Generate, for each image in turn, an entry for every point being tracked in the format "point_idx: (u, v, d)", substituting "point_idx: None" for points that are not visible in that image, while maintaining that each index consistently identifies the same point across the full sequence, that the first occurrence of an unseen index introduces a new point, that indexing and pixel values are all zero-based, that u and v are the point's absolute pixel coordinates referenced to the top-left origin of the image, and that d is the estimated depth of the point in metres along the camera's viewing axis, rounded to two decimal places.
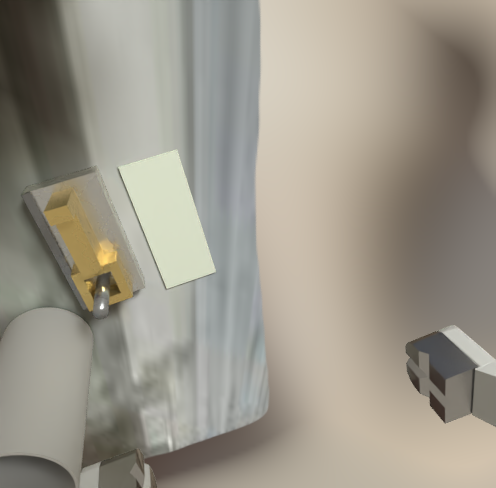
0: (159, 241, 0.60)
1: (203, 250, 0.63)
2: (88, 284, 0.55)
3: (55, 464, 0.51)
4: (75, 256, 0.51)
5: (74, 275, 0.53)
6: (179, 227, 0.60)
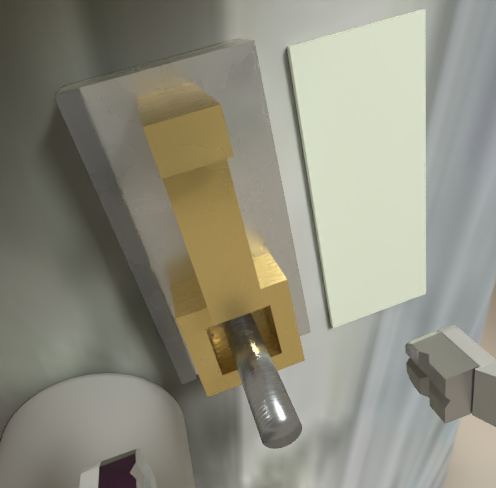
0: (340, 231, 0.28)
1: (416, 251, 0.31)
2: (208, 334, 0.23)
3: None
4: (204, 272, 0.18)
5: (185, 317, 0.21)
6: (384, 201, 0.28)
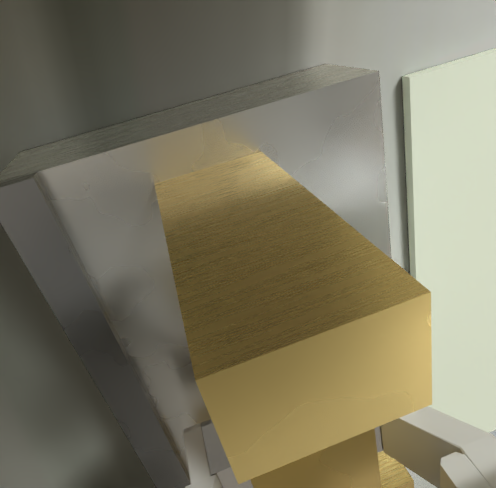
0: (449, 342, 0.19)
1: None
2: None
3: None
4: None
5: None
6: None
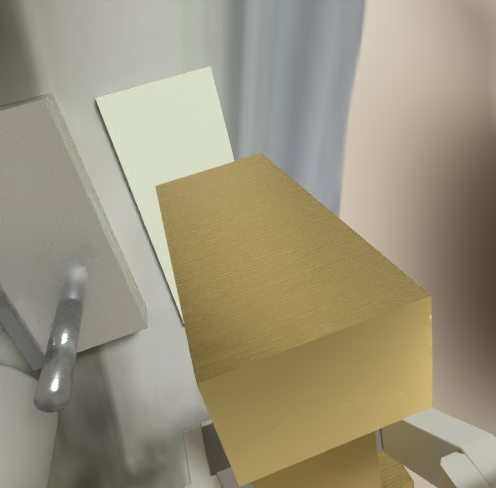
0: None
1: None
2: None
3: None
4: None
5: None
6: None
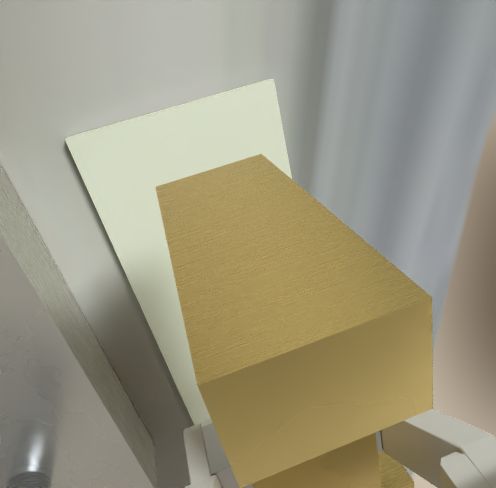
0: None
1: None
2: None
3: None
4: None
5: None
6: None
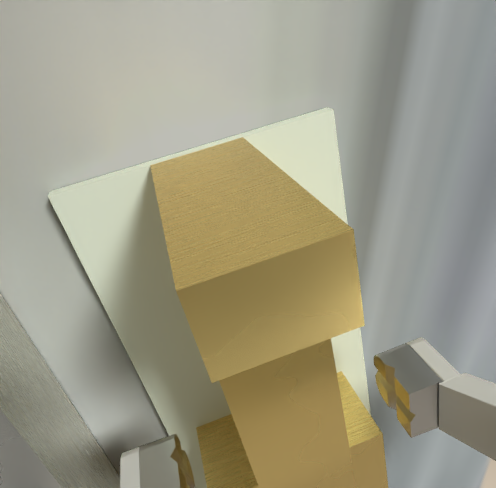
0: None
1: None
2: None
3: None
4: (267, 466, 0.11)
5: None
6: None
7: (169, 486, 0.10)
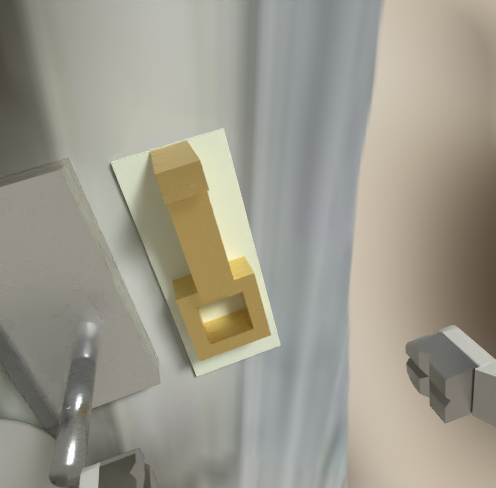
0: None
1: None
2: (199, 314, 0.32)
3: None
4: (194, 265, 0.27)
5: (182, 299, 0.30)
6: None
7: None
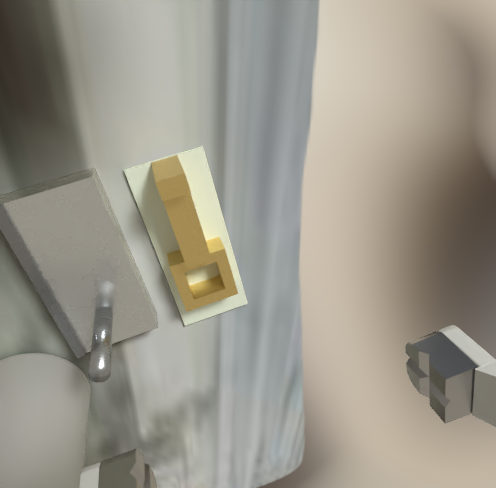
0: None
1: None
2: (186, 278, 0.45)
3: None
4: (181, 242, 0.40)
5: (174, 266, 0.43)
6: None
7: None
